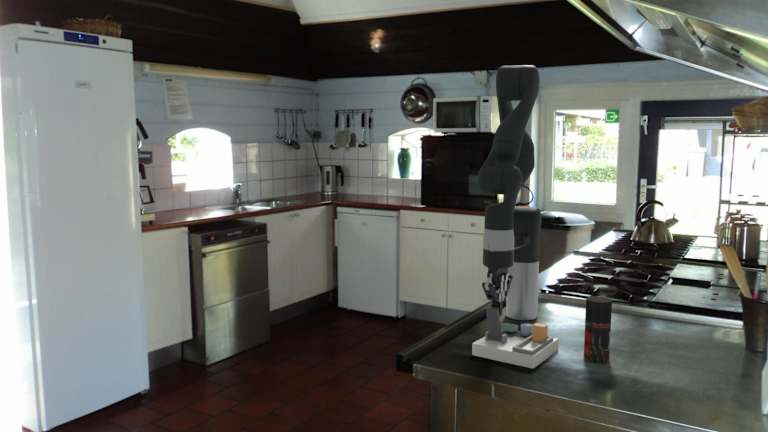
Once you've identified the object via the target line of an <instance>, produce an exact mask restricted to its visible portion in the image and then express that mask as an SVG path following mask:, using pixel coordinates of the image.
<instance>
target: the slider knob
mask: <svg viewBox="0 0 768 432" xmlns="http://www.w3.org/2000/svg"><path fill="white" fill-rule="evenodd" d="M532 325H533V326H532V341H537V342H544V341H545V340H547V336H548V329H549V328H548V325H549V324H545V323H540V322H536V323H533V324H532Z"/></svg>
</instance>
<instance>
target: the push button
mask: <svg viewBox="0 0 768 432" xmlns="http://www.w3.org/2000/svg"><path fill="white" fill-rule="evenodd" d="M532 326H533V324H532V323H527V322H526V323H525V322H524V323H521V324H520V330H519V331H520V334H521V335H523V336H531V335H532Z"/></svg>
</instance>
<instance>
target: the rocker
mask: <svg viewBox="0 0 768 432" xmlns="http://www.w3.org/2000/svg"><path fill="white" fill-rule="evenodd" d="M500 325H501V330H504V331H509V332H515V331H519V324H515V323H509V322H506V323H500Z"/></svg>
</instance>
